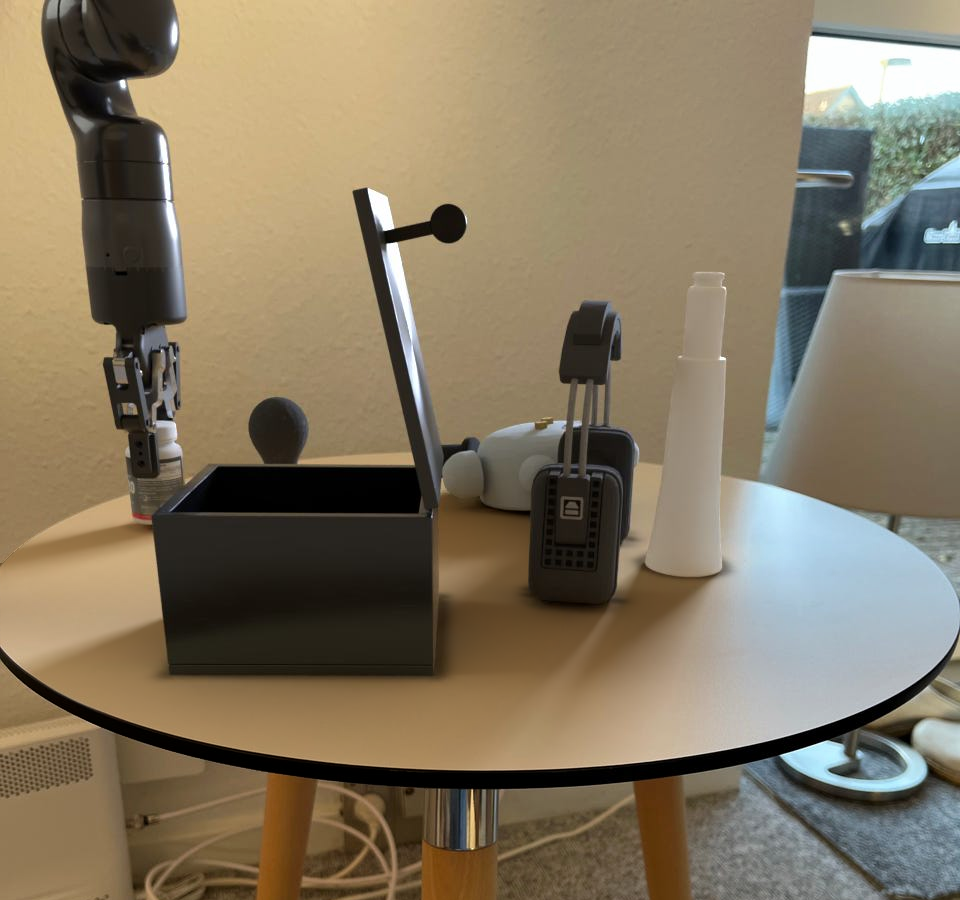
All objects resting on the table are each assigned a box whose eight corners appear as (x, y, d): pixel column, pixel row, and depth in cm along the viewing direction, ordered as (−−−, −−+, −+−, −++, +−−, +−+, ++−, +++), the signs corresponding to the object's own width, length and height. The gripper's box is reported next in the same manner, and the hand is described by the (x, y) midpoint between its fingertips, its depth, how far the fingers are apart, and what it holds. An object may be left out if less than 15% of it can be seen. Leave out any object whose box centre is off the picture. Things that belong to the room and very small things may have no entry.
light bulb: (253, 510, 96) (245, 402, 92) (253, 495, 101) (246, 393, 97) (314, 507, 97) (308, 400, 93) (310, 493, 102) (305, 391, 98)
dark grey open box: (169, 677, 60) (150, 515, 56) (220, 599, 73) (208, 463, 69) (433, 677, 60) (432, 517, 56) (439, 600, 73) (438, 464, 69)
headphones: (612, 617, 70) (631, 313, 62) (521, 610, 71) (529, 310, 64) (631, 531, 90) (647, 293, 83) (560, 526, 91) (569, 291, 84)
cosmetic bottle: (718, 582, 77) (749, 274, 69) (639, 573, 79) (660, 273, 71) (725, 559, 83) (754, 271, 74) (650, 552, 84) (671, 270, 76)
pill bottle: (138, 512, 92) (128, 419, 89) (192, 511, 92) (183, 419, 89) (127, 526, 87) (116, 428, 84) (183, 525, 88) (174, 428, 85)
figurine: (653, 486, 104) (473, 488, 111) (651, 402, 101) (465, 410, 108) (611, 529, 89) (405, 528, 96) (606, 431, 86) (394, 438, 93)
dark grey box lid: (351, 190, 50) (456, 167, 50) (374, 198, 63) (458, 179, 62) (425, 510, 56) (518, 491, 56) (432, 459, 69) (508, 443, 69)
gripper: (115, 259, 89) (136, 454, 95) (54, 263, 75) (83, 489, 82) (202, 260, 89) (217, 455, 95) (156, 265, 75) (177, 490, 82)
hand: (155, 469), depth 88 cm, fingers closed on pill bottle, 4 cm apart
